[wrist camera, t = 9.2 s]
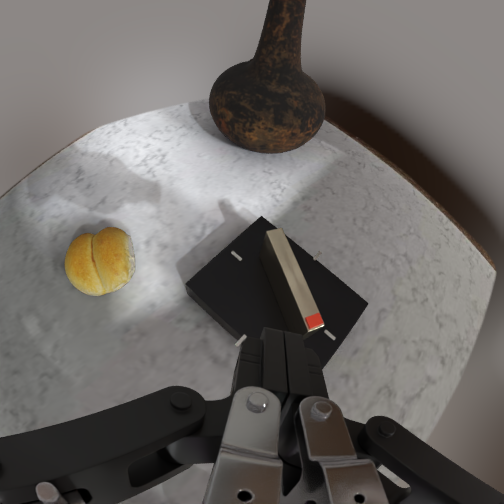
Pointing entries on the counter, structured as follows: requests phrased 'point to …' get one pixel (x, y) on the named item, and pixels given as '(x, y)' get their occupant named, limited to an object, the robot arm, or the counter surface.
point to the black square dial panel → (271, 293)
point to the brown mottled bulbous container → (270, 89)
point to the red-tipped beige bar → (289, 285)
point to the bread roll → (100, 261)
